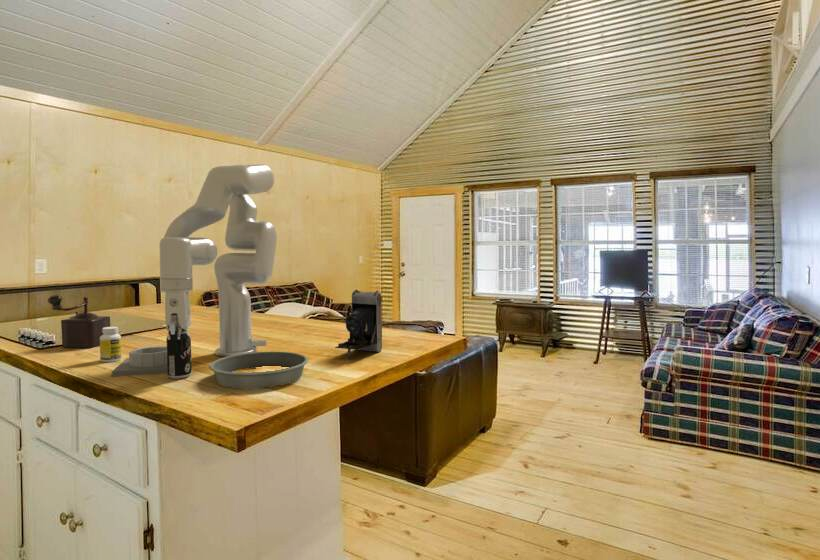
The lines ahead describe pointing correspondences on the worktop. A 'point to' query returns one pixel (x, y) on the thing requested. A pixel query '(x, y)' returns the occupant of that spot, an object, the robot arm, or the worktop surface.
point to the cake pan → (258, 359)
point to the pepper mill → (80, 325)
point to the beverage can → (180, 359)
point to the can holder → (143, 361)
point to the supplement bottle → (110, 345)
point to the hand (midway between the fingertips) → (177, 351)
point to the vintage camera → (364, 323)
